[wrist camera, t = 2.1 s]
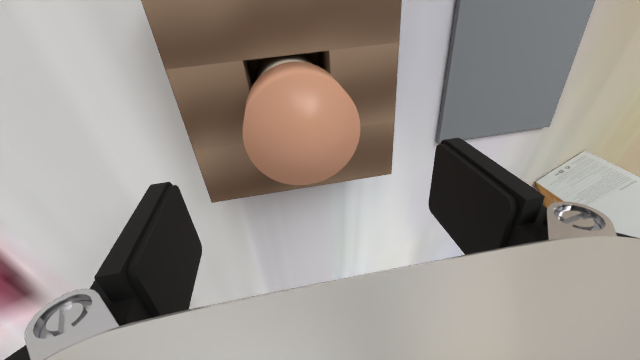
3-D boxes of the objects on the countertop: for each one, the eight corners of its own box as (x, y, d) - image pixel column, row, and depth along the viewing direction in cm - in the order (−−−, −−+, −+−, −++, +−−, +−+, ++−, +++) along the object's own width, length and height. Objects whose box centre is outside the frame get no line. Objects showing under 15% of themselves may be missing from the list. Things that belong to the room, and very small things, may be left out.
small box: (532, 181, 35) (654, 265, 24) (585, 148, 34) (739, 222, 23) (547, 219, 39) (657, 305, 28) (594, 191, 38) (728, 271, 27)
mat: (465, -63, 21) (470, -65, 21) (615, -76, 22) (623, -77, 22) (435, 141, 30) (438, 143, 29) (544, 124, 31) (549, 126, 30)
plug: (242, 44, 22) (229, 83, 12) (318, 36, 22) (359, 67, 13) (257, 118, 25) (255, 193, 15) (324, 109, 25) (360, 176, 16)
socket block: (165, -19, 20) (132, -23, 15) (370, -38, 21) (404, -47, 16) (220, 163, 27) (211, 202, 22) (368, 142, 29) (391, 173, 24)
